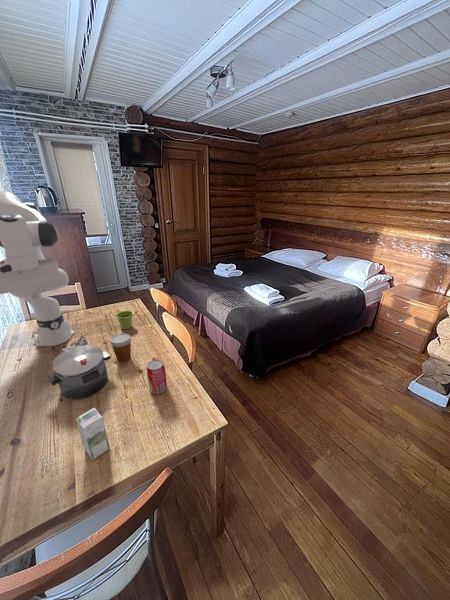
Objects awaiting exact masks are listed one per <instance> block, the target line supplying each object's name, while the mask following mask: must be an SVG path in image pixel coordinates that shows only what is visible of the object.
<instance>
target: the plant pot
mask: <svg viewBox="0 0 450 600" xmlns="http://www.w3.org/2000/svg"><path fill="white" fill-rule="evenodd" d="M133 314H134V312H133V311H130V310H123V311H120V312H118V313H116V315H115V318H117V320H118V322H119V325H120V328H121V329H122V330H129V329H131V328H132V327H133Z"/></svg>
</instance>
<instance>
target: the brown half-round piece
mask: <svg viewBox="0 0 450 600" xmlns="http://www.w3.org/2000/svg"><path fill="white" fill-rule="evenodd" d="M88 343H89V342H88V339H87V338H86V337H85V336H83V335H82V336H81V335H80V338H78V340H75V341H74V342H73V343H71V344H70V345H69V346H68V347H70V346H72V345H75V346H76V347H77V346H83V345H89V344H88Z"/></svg>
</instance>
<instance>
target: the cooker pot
mask: <svg viewBox="0 0 450 600" xmlns="http://www.w3.org/2000/svg"><path fill="white" fill-rule="evenodd" d="M102 352H103V361H102V363H101V364H100V365H99V366H98V367H97V368H96V369H94V370H93V371H91V372H89V373H86V374H84V375H81V376H76V377H62V376H59V375H57V374H56V373H55V372H54V373H52V374H49V375H47V376H46V377H47V380H48V381H49V383H50V384H51V385H52V386H55V385H58V386H59V390H60V392H61V396H63V398H65V399H67V400H72V401H75V400H76V401H77V400H83V399H84V400H85V399H87V398H89V397H92V396H94V395H96V394H98V393H99V392H101V391H102V390H103V389H104V388H105V387H106V385H107V384H108V381H109V376H108V371H107V367H106V362H107V361H109V360H110V359H111V355H110V354H109V353H108V352H107V351H105V350H104V351H102Z"/></svg>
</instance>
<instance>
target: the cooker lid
mask: <svg viewBox="0 0 450 600" xmlns="http://www.w3.org/2000/svg"><path fill="white" fill-rule="evenodd" d="M69 346H70V345H69ZM69 346H68V347H64V348H62V349H61V350H62V351H61V353H60V354H58V355H57V356H56V357H55V359H54V360H53V362H52V369H53V371H54V374H55V373H56V374H57V375H59V376H62V377H76V376H81V375H84V374H86V373H89V372H91V371H93V370H94V369H96V368H97V367H98V366H99V365H100V364H101V363H102V361H103V352H104V351H103V350H102V348H100V347H99V346H96V345H92V344H87V345H83V346H77V347H76V346H75V345H72V346H70V347H69Z"/></svg>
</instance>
